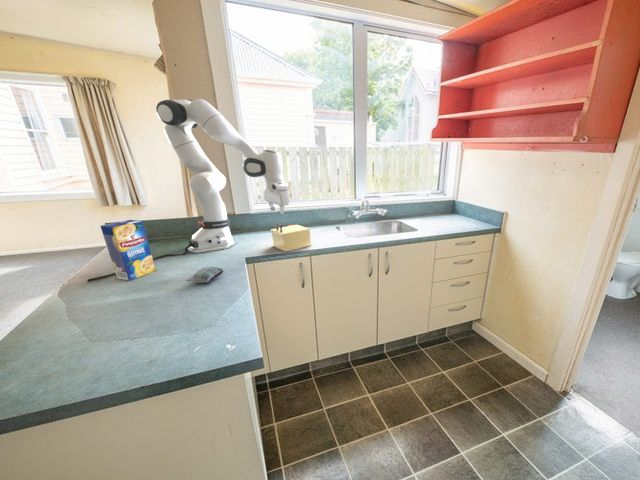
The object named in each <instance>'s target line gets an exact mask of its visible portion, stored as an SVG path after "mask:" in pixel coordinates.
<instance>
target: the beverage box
mask: <svg viewBox="0 0 640 480" xmlns="http://www.w3.org/2000/svg"><path fill="white" fill-rule="evenodd" d="M100 229H101V233H102V235H103V238H104V242H105V244H106V248H107V251H108V254H109V257H110V260H111V264H112V266H113V269H114V273H116V275H115V276H116V278H117V279H119V280H123V281H124V280H125V281H132V280H135V279H138V278H140V277H142V276H145V275H148V274H150V273H153V272H156V271H157V270H156V266H155V262H154V260H153V258H154V257H153V255H152V251H151V247H150V244H149V239H148V236H147V232H146V230H145V225H144V222H143V220H136V219H128V220H123V221H117V222H112V223H107V224H103V225H100Z"/></svg>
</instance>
